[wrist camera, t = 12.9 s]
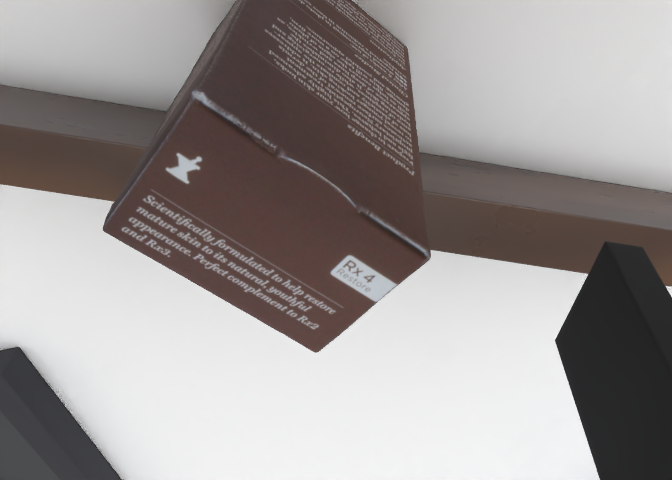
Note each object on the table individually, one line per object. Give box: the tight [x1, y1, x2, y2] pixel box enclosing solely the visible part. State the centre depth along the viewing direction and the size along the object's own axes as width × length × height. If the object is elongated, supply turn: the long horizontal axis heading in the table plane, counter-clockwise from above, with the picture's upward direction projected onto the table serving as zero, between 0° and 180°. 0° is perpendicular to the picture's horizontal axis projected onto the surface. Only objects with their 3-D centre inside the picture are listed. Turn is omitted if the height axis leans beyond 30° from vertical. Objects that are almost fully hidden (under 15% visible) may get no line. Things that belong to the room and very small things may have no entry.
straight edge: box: [0, 85, 672, 287], centre depth 25 cm, size 2×33×3 cm, turn 81°
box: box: [103, 0, 431, 352], centre depth 18 cm, size 6×4×12 cm
